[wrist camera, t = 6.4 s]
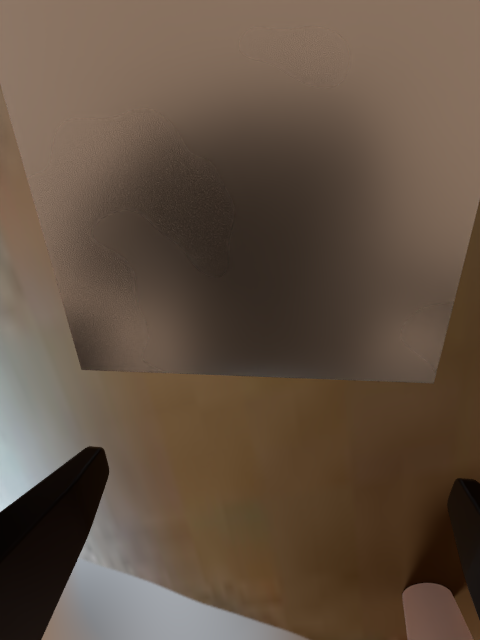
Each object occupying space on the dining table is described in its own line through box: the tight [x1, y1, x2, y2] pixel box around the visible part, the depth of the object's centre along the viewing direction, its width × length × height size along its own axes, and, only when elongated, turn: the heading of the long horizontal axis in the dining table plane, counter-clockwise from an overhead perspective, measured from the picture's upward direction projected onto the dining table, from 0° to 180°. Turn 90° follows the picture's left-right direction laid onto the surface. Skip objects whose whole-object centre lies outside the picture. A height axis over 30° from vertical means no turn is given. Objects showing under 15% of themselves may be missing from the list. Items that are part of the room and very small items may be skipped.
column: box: [0, 0, 480, 383], centre depth 7 cm, size 4×4×10 cm
